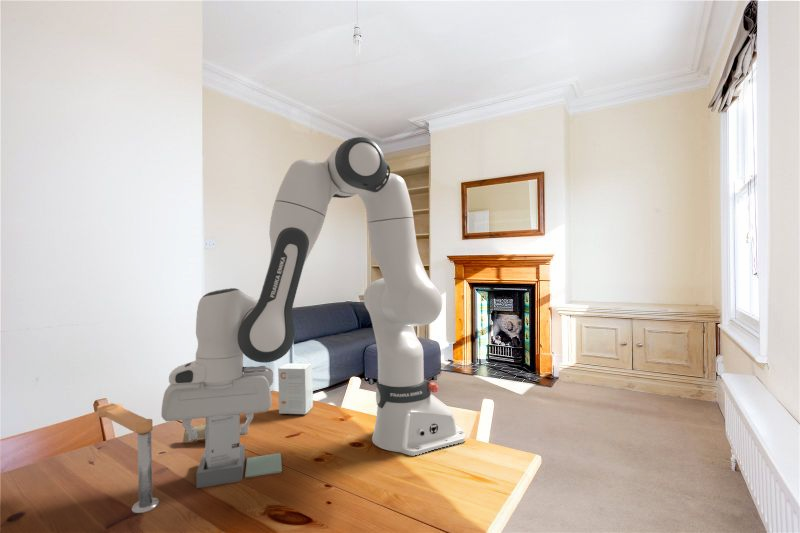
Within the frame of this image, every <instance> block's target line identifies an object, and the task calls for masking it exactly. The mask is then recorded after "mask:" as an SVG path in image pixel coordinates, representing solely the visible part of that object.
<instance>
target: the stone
mask: <svg viewBox="0 0 800 533" xmlns="http://www.w3.org/2000/svg"><path fill="white" fill-rule="evenodd" d="M205 425H206V423H205V424H202V425H198V426H192V427H193V428H194V429H198V439H199V440H200V439H205ZM198 439H197V440H198ZM185 442H190V441H189V433H188V432H187V431H186V430H185V429H184V433H183V438H182V443H185Z"/></svg>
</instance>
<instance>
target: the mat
mask: <svg viewBox="0 0 800 533" xmlns="http://www.w3.org/2000/svg"><path fill="white" fill-rule="evenodd" d="M245 464H246V465H245V474H244V478H245V479H247V478H253V477H258V476H259V477H260V476H265V475H273V474H278V473H283V467H282V453H281V452H278V453H272V454H266V455H258V456H252V457H247V458H246V463H245Z"/></svg>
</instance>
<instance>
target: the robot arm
mask: <svg viewBox="0 0 800 533" xmlns="http://www.w3.org/2000/svg"><path fill="white" fill-rule="evenodd" d="M356 195H357V196H358V197H360V199H361V201H362V202H363V205H364V208H365V210H366V219H367V220H366V221H367V229H368V230H367V231H368V237H369V238H368V239H369V246H370V252H371V257H372V258H373V260H374V261H375V263H376V264H377V266H378V267H379V270H380V273H381V275H382V277H381V278H378V279H376V280H373V281H372V282H371V283H370V284H368V285H367V287H366V288H365V290H364V293H363V304H364V306H365V308H366V310H367V312H368V313H369V317H370V321H371V324H372V325H371V326H372V329H373V333H374V339H375V343H376V349H377V370H378V371H377V380H376V387H375V401H376V402H375V403H376V405H377V410H376V418H375V425H374V430H373V433H372V437H371V440H372V443H373V444H374V445H375V446H376V447H378V448H380V449H383V450H386V451H389V452H390V451H391V452H396V453H400V454H401V453H402V454H405V455H408V456H412V457H415V455H417V456H419V454H420V455H423V454H422V453H424V454H426V453H425V452H427V453H429V452H428V451H431V450H434V449H438V448H441V447H445V446H448V447H450V446H449V445H452V446H453V444H455V445H459V444H461V443H464V441H466V433H465V432H464V429H463V428H462V427H460V425H458V424H457V423H456V420H455V415H454V413H453V410H451V409H450V407H449V406H448V405H447V404H445V403H444V402H442V401H441V400H440V399H439V398H438V397H436V396H434V395H433V394H432V393H434V394H435V393H437V392H438V391H439V385H438V384H436V383H435V382H431V381H430V380H428V379H426V378H425V376H424V375H425V372H424V371H425V370H424V368H425V367H424V361H425V360H424V349H423V348H424V347H423V345H422V342H420V340H419V339H418V338H419V337H418V336H417V334H416V331H415V328H414V327H422V326H427V325H430V324H432V323H433V322H435V321H436V320H437V319H438V318H439V316H440V315H441V311H442V307H443V297H442V295H441V294H442V293H441V292H440V290H439V289H438V287H436V285H435V284H434V283H433V282H432V281H431V279H430V278H429V275H428V273H427V271H426V269H425V267H424V264H423V262H422V259H421V256H420V253H419V252H420V251H419V247H418V243H417V242H418V241H417V236H416V229H415V228H416V227H415V220H414V212H413V207H412V202H411V198H410V193H409V189H408V187H407V183H406V181H405V179H404V178H403V177H402V176H400V175H399V174H397V173H394V172H393V173H391V168H390V165H389V164H388V162H387V161H386V157H385V156H384V153H383V151H382V150H381V148H380V147H379V145H378V144H377V143H376V142H375V141H373V140H372V139H370V138H368V137H364V136H361V137H360V136H356V137H351V138H348V139H347V140H345V141H343V142H342V143H341V144H340V145H339V146H337V147H336V148H335V149H334V150H333V151H332V152H331V153H330V155H329V156H328V157H327V158H326V159H325V160H324V161H323V162H318V161H316V160H313V159H308V158H307V159H304V158H303V159H298V160H295V161H294V162H292V163H291V165H290V166H289V167H288V170H287V171H286V173H285V175H284V177H283V180H282V182H281V184H280V187H279V188H278V191H277V194H276V197H275V200H274V204H273V207H272V211H271V216H270V223H269V231H268V232H269V239H270V261H269V264H268V268H267V272H266V274H265V278H264V281H263V285H262V289H261V292H260V294H259V298H258V299H256V298H255V297H254V298H253V297H252V296H250V295H248V294H246V293H244V292H243V291H242V290H241V289H239V288H234V287H233V288H232V287H230V288H225V289H224V288H223V289H218V290H214V291H210V292H208V293H205V294H204V295H202V297H201V298H200V299H199V302H198V305H197V309H196V310H197V311H196V319H195V337H196V339H197V348H196V352H195V360H193V361H190V362H186V363H184V364H181V365H179V366H177V367H175V368H174V369H173V370H171V372H170V374H169V376H168V383H169V385H168V386H167V387H166V389H165V391H164V393H163V397H162V405H161V414H160V415H161V418H162V419H163V420H164V421H165V422H174V421H175V422H176V421H182V422H181V423H182V427H183V428H184V431H185V430H186V431H187V432H188V433H189V441H188V442H193V441H197V440H198V429H194V428H193V427H194V426H192V424H191V423H192V421H193V419H194V420H195V419H206V417H213V416H225V415H236V414H240V415H245V416H246V418H245V419H246V421H245V422H244V423H240V436H245V435H246V436H247V435H248V434H249V426H250V424H251V422H252V421H253V419H254V414H255V413H264V412H265V413H266V412H268V411H269V410H270V409H271V408H272V392H271V386H272V385H273V383H274V371H273V370H272V369H271V368H269V367H267V366H266V365H259V366H244V356H246V357H247V358H248V359H249V360H252V361H254V362H258V363H262V364H263V363H264V364H265V363H266V364H267V363H271V362H275V361H278V360H280V359H281V358H283V357H284V356H286V355H287V353H288V352H289V351H290V349H291V348H292V346H293V344H294V341H295V326H294V321H293V307H294V302H295V299H296V294H297V291H298V288H299V284H300V280H301V276H302V272H303V269H304V266H305V263H306V261H307V259H308V257H309V255H310V253H311V251H312V250H313V248H314V246H315V244H316V241H317V240H318V238H319V235H320V233H321V231H322V228H323V225H324V222H325V218H326V216H327V211H328V207H329V205H330V203H331V200H332V199H333V198H339V199H346V198H350V197H354V196H356ZM458 443H459V444H458ZM445 448H446V447H445ZM441 449H442V448H441ZM438 450H439V449H438ZM434 451H435V450H434ZM431 452H432V451H431Z"/></svg>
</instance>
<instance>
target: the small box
mask: <svg viewBox="0 0 800 533" xmlns="http://www.w3.org/2000/svg"><path fill="white" fill-rule="evenodd" d="M277 371H278V375H277V376H278V380H277V381H278V414H285V415H286V414H289V415H307V413H309V412H310V410H311V409H312V408H313V406H314V396H313V395H314V391H313V389H314V387H313V363H301V362H300V363H294V362H293V363H289V362H288V363H285V364H283V365H282V366H280V367H278V368H277Z"/></svg>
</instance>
